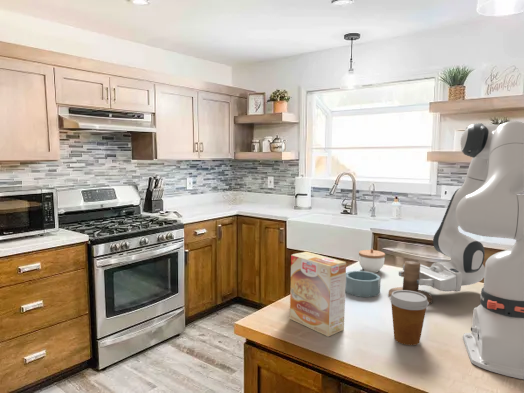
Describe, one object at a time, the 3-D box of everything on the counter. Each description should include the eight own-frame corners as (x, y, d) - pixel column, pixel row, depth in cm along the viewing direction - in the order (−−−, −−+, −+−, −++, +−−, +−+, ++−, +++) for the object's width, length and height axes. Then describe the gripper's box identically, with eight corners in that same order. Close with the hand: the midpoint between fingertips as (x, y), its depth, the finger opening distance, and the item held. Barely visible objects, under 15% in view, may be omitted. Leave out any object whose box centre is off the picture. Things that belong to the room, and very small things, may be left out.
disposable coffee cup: (402, 351, 95) (405, 304, 94) (380, 334, 105) (382, 291, 103) (434, 346, 98) (437, 300, 97) (410, 329, 107) (412, 288, 106)
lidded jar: (385, 275, 157) (386, 252, 156) (358, 273, 159) (359, 251, 159) (382, 268, 168) (383, 246, 167) (357, 266, 170) (358, 245, 169)
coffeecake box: (288, 319, 114) (290, 254, 112) (305, 313, 118) (307, 250, 116) (328, 337, 102) (330, 265, 100) (344, 330, 107) (347, 261, 105)
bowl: (374, 299, 130) (375, 283, 130) (340, 292, 136) (340, 277, 136) (383, 289, 141) (383, 274, 140) (350, 283, 147) (351, 269, 146)
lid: (430, 308, 123) (433, 271, 121) (385, 300, 129) (387, 264, 128) (433, 295, 135) (436, 261, 134) (391, 288, 141) (394, 255, 140)
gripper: (421, 258, 145) (390, 261, 141) (465, 274, 125) (430, 277, 121) (421, 274, 145) (389, 277, 141) (464, 293, 126) (429, 297, 122)
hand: (408, 278), depth 131 cm, fingers open, 8 cm apart
